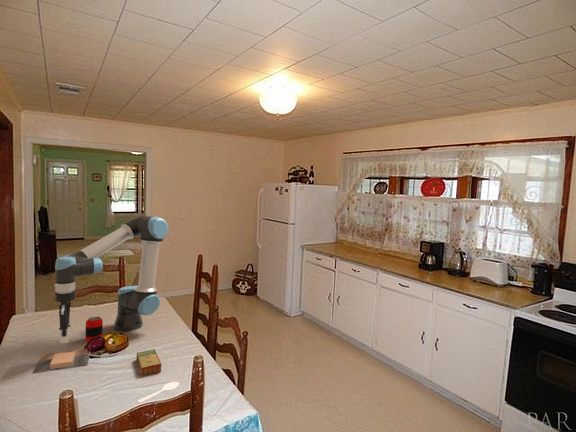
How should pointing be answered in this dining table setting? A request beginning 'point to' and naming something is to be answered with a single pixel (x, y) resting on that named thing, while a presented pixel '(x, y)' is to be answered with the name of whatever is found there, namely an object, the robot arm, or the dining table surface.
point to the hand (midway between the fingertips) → (64, 342)
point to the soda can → (93, 328)
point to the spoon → (165, 388)
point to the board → (46, 359)
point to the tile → (62, 360)
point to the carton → (148, 362)
